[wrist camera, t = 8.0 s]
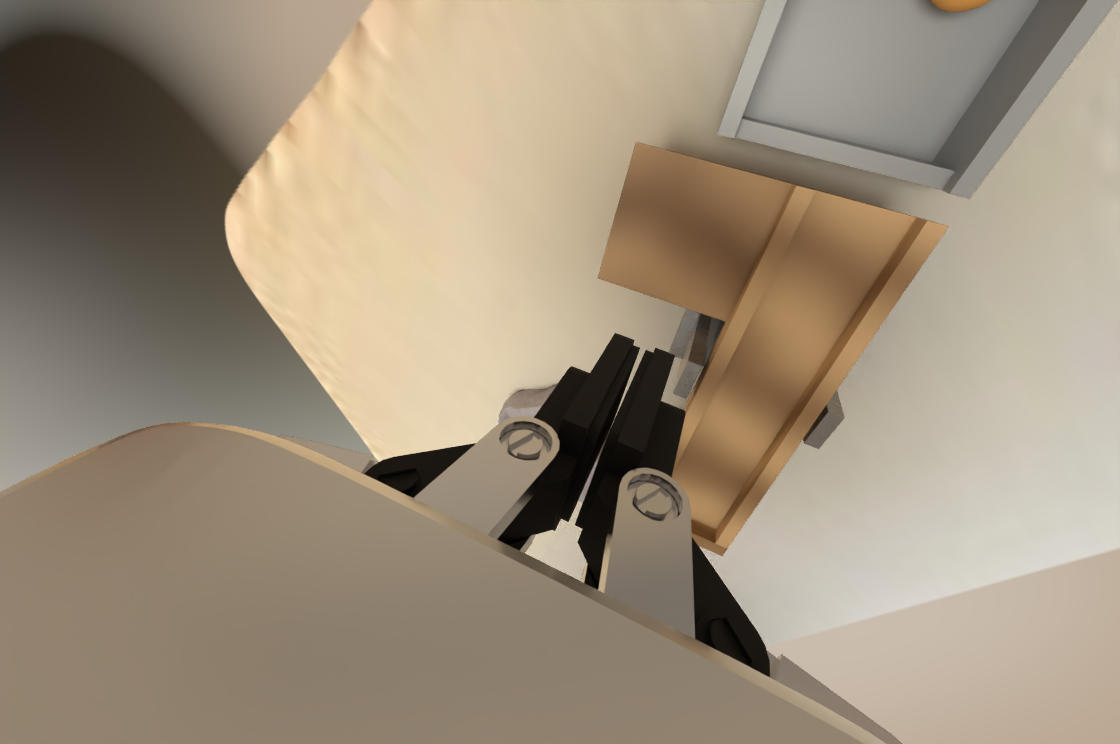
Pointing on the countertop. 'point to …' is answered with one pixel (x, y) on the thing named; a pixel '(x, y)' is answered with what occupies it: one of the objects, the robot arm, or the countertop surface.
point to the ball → (958, 4)
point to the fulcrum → (695, 350)
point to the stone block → (529, 406)
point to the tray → (904, 81)
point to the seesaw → (757, 309)
